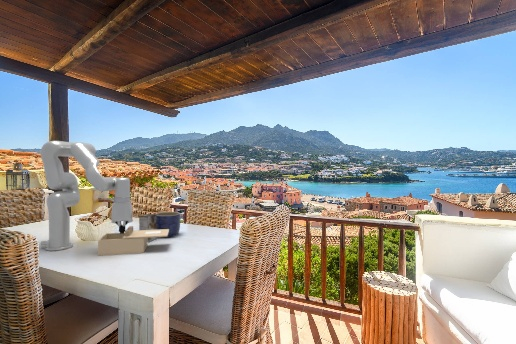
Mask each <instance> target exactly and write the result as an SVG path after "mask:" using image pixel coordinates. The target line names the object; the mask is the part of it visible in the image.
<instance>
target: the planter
mask: <svg viewBox="0 0 516 344" xmlns="http://www.w3.org/2000/svg"><path fill="white" fill-rule="evenodd" d="M155 214H156V230H160V229H169V232H168V236H167V237H166V238H172V237H175V236H177V235H178V234H179V232H180V229H181V213H180V212H178V211H160V212H156V213H155Z"/></svg>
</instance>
